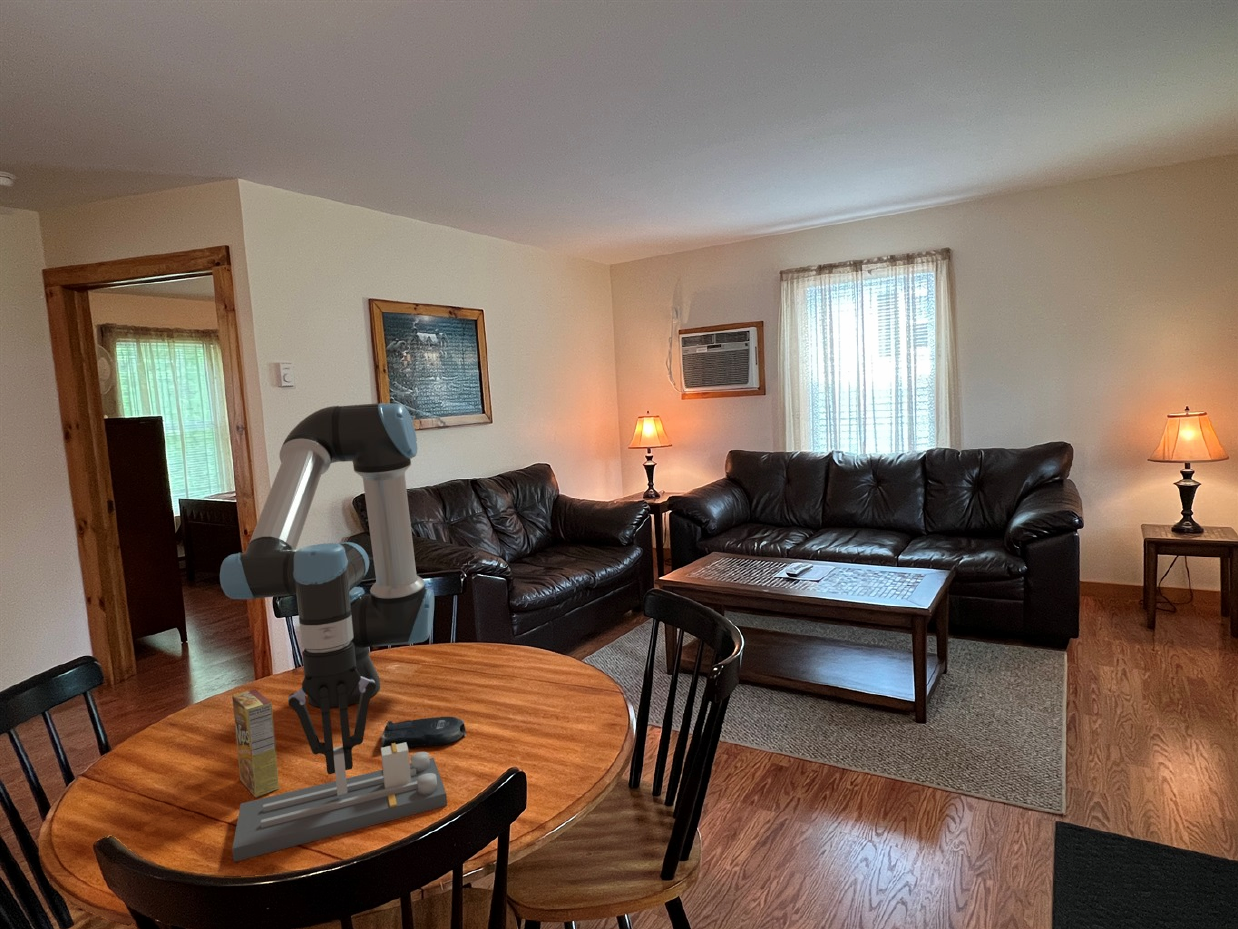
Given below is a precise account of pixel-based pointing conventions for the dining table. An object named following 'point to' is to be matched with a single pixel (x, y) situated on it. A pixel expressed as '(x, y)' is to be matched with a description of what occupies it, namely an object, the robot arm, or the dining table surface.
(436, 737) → the electronic device
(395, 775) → the fader tab
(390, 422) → the robot arm
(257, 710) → the candy box
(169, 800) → the dining table surface
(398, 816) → the console board
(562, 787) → the dining table surface
